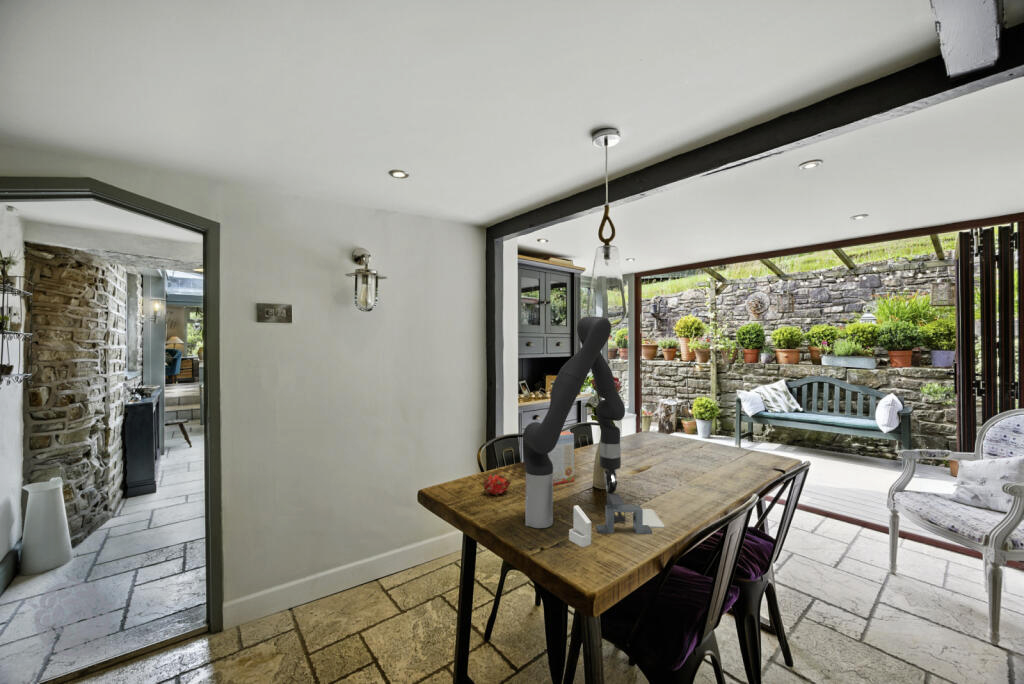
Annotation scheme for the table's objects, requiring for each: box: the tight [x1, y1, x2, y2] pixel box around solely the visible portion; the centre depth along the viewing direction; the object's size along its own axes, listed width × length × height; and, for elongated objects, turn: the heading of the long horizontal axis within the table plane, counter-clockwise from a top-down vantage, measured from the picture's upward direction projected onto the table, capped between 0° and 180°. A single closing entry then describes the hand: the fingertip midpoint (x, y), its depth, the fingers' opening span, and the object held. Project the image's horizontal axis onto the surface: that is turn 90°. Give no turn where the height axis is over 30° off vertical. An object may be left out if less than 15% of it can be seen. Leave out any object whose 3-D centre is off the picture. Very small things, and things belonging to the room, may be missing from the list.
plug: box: [606, 492, 626, 523], centre depth 148 cm, size 4×13×6 cm, turn 178°
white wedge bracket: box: [568, 504, 592, 548], centre depth 130 cm, size 4×10×9 cm
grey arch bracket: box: [595, 504, 653, 535], centre depth 137 cm, size 17×4×8 cm, turn 88°
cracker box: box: [548, 430, 575, 486], centre depth 182 cm, size 14×6×21 cm, turn 115°
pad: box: [630, 508, 666, 529], centre depth 146 cm, size 8×14×1 cm, turn 178°
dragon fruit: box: [482, 473, 511, 496], centre depth 169 cm, size 8×8×12 cm
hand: (610, 500), depth 158 cm, fingers closed
